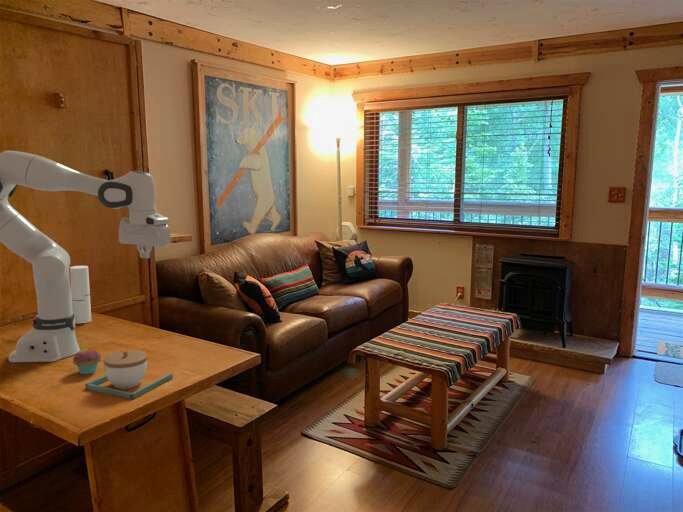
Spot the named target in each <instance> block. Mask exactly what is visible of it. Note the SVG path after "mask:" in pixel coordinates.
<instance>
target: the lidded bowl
mask: <svg viewBox="0 0 683 512" xmlns="http://www.w3.org/2000/svg"><path fill="white" fill-rule="evenodd" d="M147 359H148V355H147V353H146V352H144V351H142V350H122V351H117V352H114V353H110V354H108V355H106V356H105V357H104V358H103V365H104V373H105V375H106V376H107V379H108V380H107V381H108V382H109V383H110V384H111V385H113V386H114V387H115V389H118V388H119V390H126V389H127V390H128V389H132V388H134V387H135V388H136V387H137V386H138V385H139V384H140V382H141V381H142V380H143V379H144V377H145V375H146V372H147V367H148V365H147V363H148V361H147Z"/></svg>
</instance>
